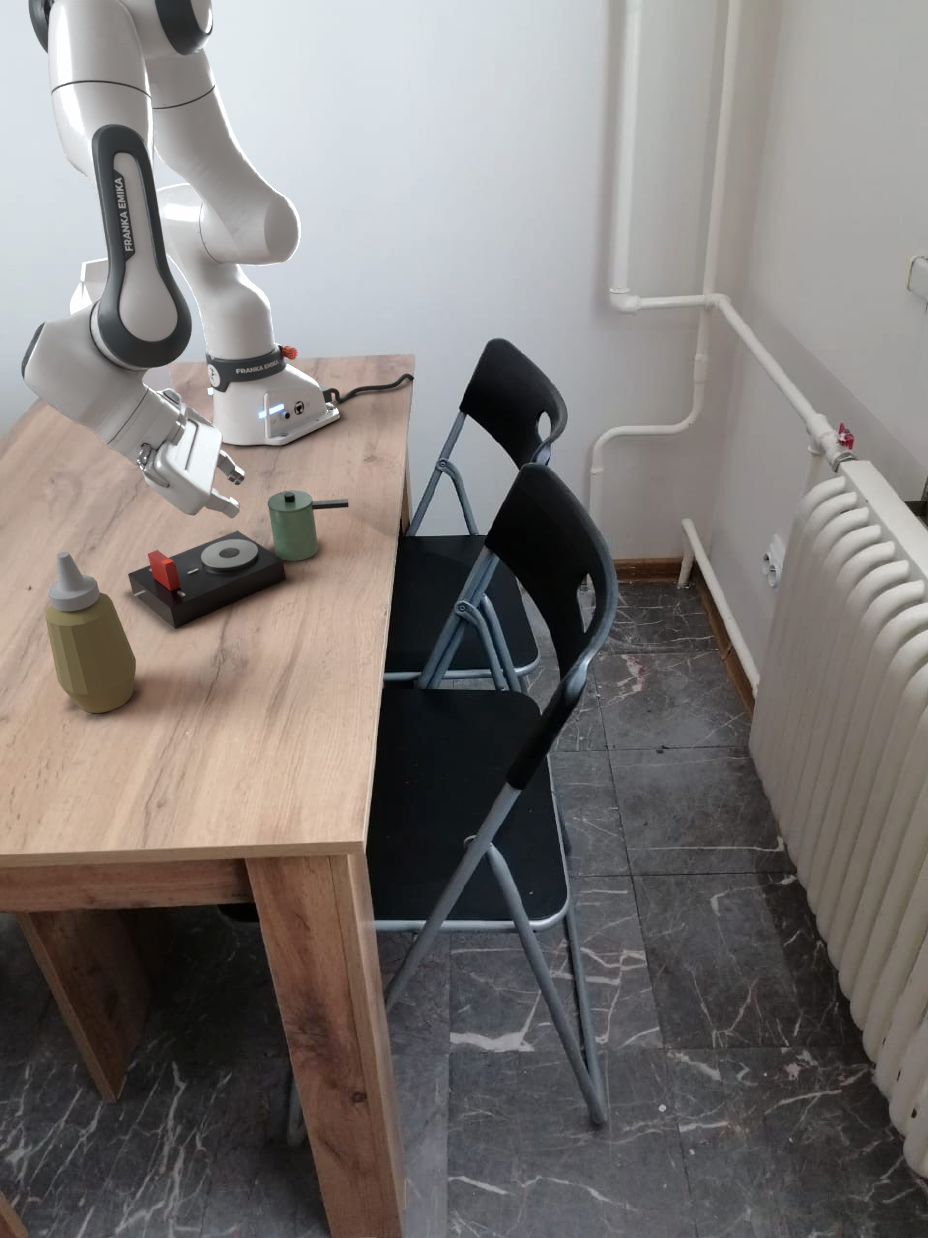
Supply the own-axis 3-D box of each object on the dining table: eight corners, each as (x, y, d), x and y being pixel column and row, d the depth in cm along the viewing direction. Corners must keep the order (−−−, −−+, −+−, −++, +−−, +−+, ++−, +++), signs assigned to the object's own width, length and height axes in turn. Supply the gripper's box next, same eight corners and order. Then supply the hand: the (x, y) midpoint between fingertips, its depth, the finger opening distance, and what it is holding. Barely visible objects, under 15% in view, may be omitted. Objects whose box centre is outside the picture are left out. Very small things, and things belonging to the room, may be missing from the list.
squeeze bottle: (77, 677, 106) (33, 537, 96) (150, 672, 106) (114, 532, 96) (57, 723, 99) (7, 578, 89) (135, 718, 100) (94, 573, 89)
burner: (239, 537, 126) (238, 533, 125) (269, 557, 121) (268, 552, 121) (191, 556, 122) (190, 552, 121) (220, 577, 117) (219, 573, 117)
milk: (147, 390, 180) (117, 248, 165) (178, 405, 173) (149, 258, 158) (88, 407, 173) (51, 260, 158) (118, 424, 166) (82, 272, 152)
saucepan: (322, 526, 134) (316, 472, 129) (356, 546, 129) (351, 490, 124) (266, 550, 129) (257, 494, 124) (299, 571, 124) (291, 514, 119)
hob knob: (153, 577, 117) (146, 551, 115) (163, 573, 118) (157, 547, 116) (170, 591, 115) (164, 565, 112) (181, 587, 115) (175, 561, 113)
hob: (240, 549, 129) (237, 529, 127) (286, 579, 122) (283, 558, 120) (119, 599, 119) (113, 578, 117) (161, 635, 112) (155, 613, 110)
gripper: (150, 446, 107) (249, 516, 114) (173, 383, 124) (258, 447, 130) (118, 485, 109) (218, 551, 116) (145, 417, 126) (231, 478, 132)
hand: (239, 495), depth 123 cm, fingers open, 8 cm apart
